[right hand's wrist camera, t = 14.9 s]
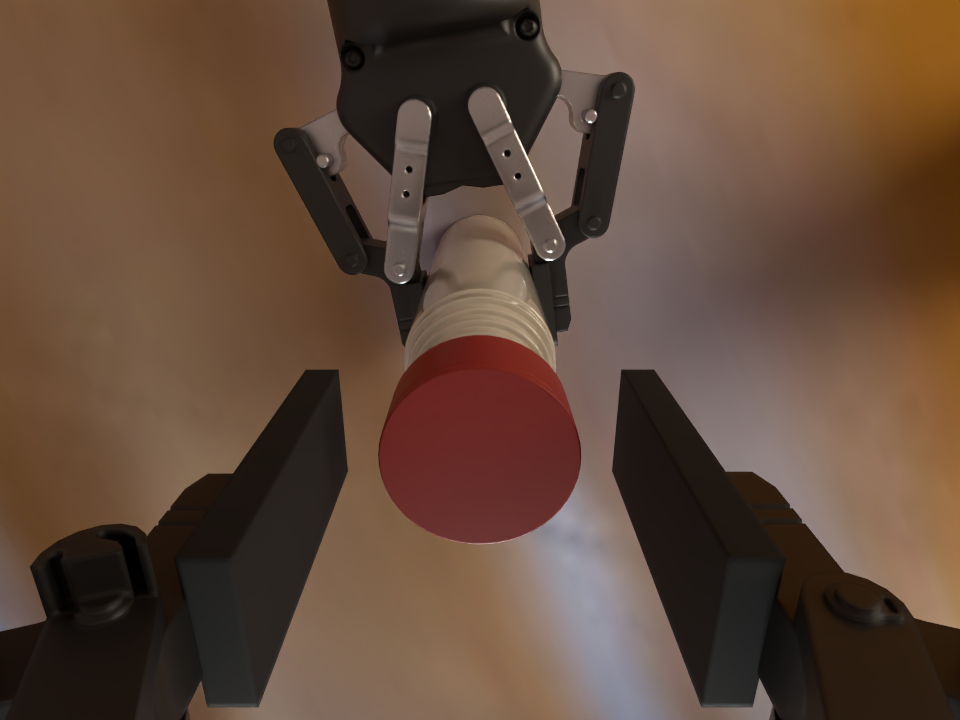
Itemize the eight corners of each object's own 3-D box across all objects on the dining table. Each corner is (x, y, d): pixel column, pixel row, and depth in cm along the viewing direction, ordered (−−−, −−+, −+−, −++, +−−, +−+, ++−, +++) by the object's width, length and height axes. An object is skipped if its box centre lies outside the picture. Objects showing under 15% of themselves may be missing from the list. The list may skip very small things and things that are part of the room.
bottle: (518, 209, 31) (575, 339, 12) (527, 295, 32) (590, 523, 14) (429, 221, 31) (357, 367, 13) (443, 306, 33) (396, 545, 14)
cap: (364, 365, 14) (346, 403, 12) (539, 309, 14) (548, 340, 12) (427, 511, 16) (419, 565, 14) (587, 465, 15) (603, 515, 13)
